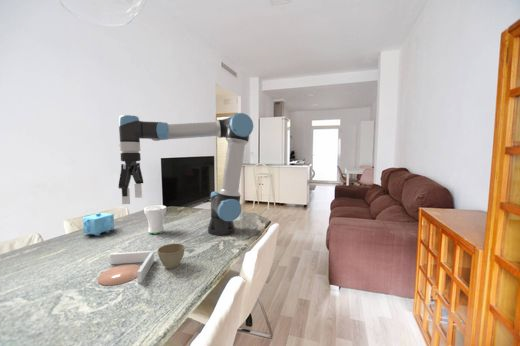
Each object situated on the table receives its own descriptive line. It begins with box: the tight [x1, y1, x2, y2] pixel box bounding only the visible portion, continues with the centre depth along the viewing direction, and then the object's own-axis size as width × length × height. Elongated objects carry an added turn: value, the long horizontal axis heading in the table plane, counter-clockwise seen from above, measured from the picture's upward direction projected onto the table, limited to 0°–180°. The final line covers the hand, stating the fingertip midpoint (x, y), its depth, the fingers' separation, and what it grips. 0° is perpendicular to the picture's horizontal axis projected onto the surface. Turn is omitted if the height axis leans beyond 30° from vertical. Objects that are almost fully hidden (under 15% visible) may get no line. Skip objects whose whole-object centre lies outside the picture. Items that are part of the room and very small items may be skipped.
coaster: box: [97, 263, 142, 286], centre depth 84 cm, size 14×14×1 cm
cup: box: [143, 204, 167, 236], centre depth 128 cm, size 11×11×14 cm
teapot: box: [82, 212, 115, 237], centre depth 127 cm, size 16×18×11 cm
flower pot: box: [157, 243, 186, 270], centre depth 91 cm, size 10×10×7 cm
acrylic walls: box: [109, 250, 155, 284], centre depth 86 cm, size 16×17×4 cm
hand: (132, 200), depth 102 cm, fingers open, 13 cm apart
